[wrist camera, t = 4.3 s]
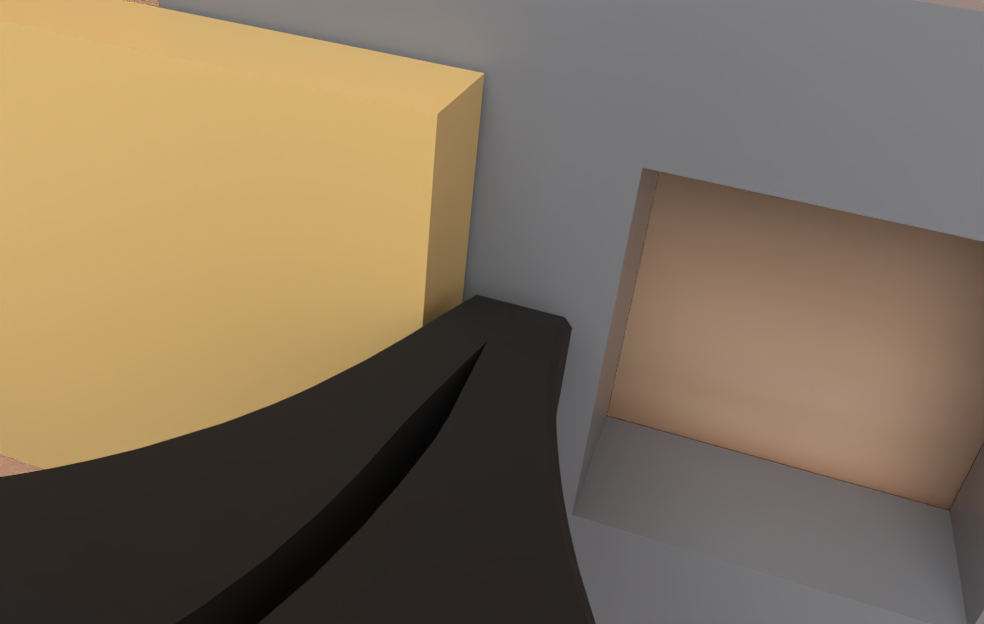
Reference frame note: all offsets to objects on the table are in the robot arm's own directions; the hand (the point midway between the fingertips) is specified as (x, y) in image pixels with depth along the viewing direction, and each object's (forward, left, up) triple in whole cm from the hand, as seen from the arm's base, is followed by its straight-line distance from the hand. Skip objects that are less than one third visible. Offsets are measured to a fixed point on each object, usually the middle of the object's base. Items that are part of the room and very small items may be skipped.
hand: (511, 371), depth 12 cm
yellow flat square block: (0, +4, -1) cm, 4 cm away
